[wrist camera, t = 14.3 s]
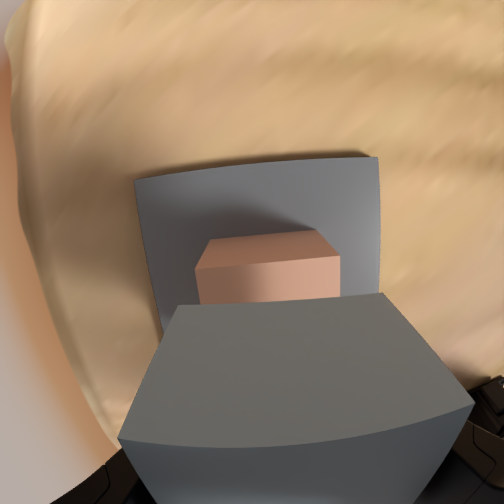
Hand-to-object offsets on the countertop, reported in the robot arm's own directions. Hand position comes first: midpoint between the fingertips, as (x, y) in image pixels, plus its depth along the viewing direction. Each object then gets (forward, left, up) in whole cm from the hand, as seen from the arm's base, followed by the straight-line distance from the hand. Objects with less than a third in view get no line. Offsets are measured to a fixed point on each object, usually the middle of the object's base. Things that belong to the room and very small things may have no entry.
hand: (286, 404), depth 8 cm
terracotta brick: (0, 0, -10) cm, 10 cm away
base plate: (0, 0, -11) cm, 11 cm away
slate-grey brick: (0, 0, -1) cm, 1 cm away
